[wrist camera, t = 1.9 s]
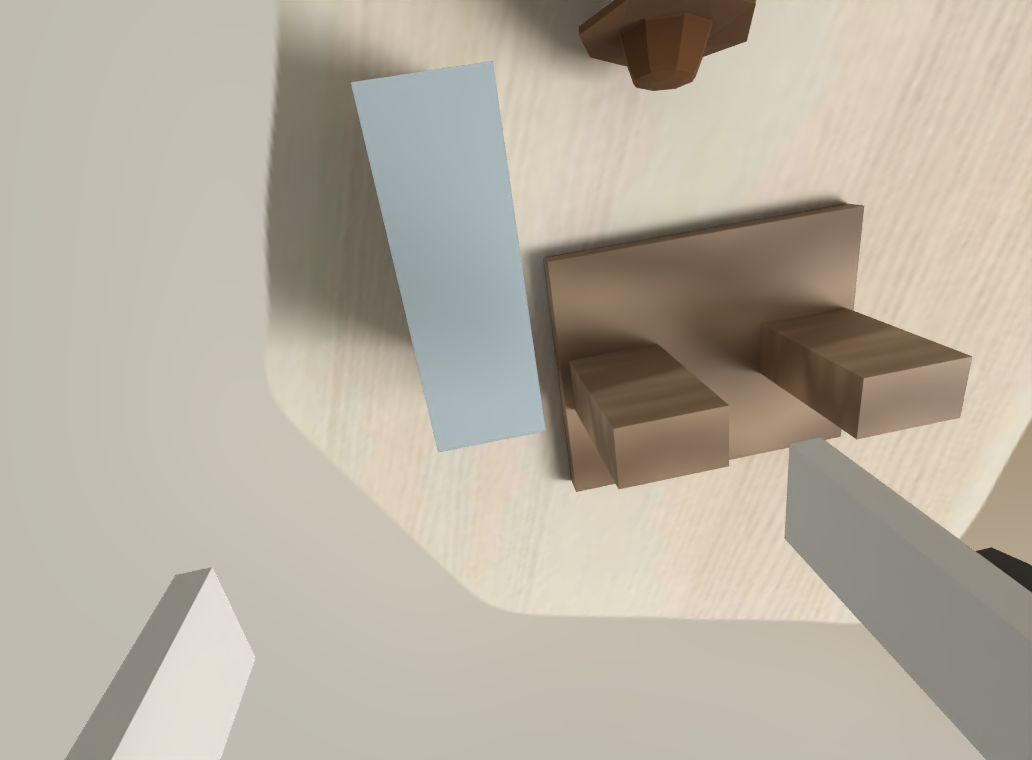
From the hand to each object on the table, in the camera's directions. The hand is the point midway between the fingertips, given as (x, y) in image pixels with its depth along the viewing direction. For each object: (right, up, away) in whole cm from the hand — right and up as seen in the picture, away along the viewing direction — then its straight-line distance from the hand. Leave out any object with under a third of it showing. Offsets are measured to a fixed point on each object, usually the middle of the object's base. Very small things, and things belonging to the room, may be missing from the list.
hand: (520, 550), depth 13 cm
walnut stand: (+11, +6, +20) cm, 23 cm away
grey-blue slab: (-3, +11, +15) cm, 19 cm away
